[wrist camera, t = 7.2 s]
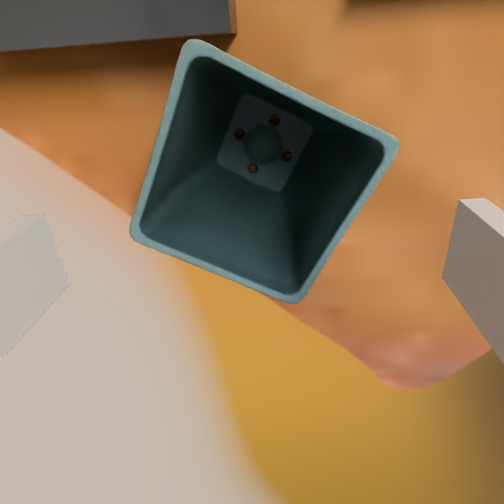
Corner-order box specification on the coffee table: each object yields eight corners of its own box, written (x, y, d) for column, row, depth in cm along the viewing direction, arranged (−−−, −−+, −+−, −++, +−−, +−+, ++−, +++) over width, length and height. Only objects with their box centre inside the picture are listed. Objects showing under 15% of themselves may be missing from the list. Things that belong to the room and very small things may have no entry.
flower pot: (174, 177, 24) (124, 240, 17) (222, 36, 20) (184, 31, 12) (293, 228, 26) (298, 309, 18) (361, 105, 21) (406, 141, 14)
